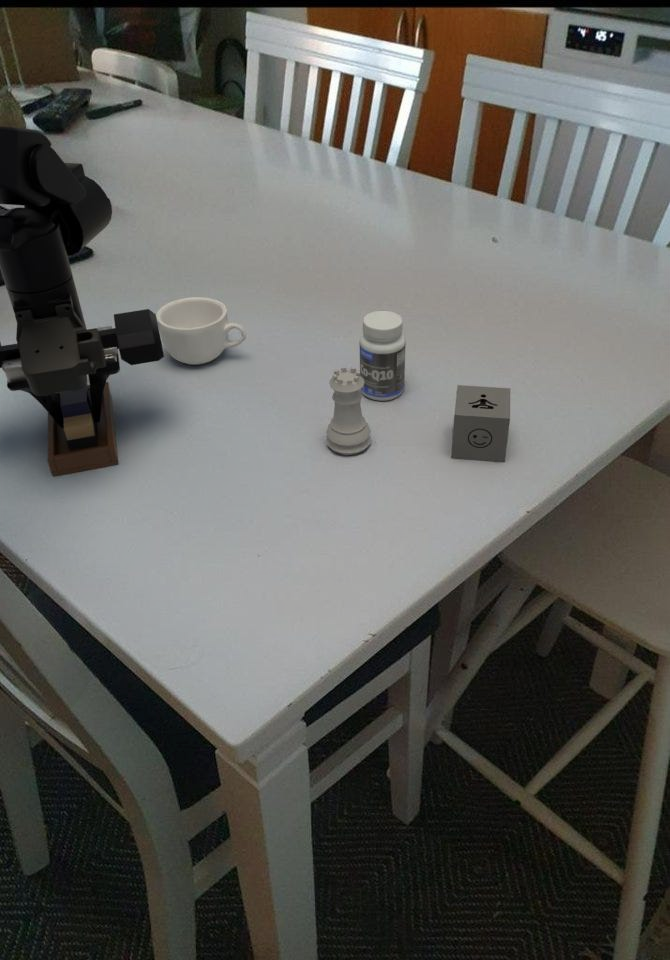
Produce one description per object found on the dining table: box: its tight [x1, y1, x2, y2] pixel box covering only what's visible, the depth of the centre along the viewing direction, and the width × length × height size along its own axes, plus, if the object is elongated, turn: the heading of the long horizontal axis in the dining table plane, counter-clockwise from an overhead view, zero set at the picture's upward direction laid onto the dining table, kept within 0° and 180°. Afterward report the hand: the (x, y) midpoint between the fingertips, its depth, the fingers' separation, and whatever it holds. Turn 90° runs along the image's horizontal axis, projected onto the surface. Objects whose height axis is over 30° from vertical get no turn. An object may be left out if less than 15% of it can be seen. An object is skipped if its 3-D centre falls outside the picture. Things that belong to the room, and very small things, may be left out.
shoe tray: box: [46, 381, 120, 477], centre depth 81 cm, size 6×12×2 cm, turn 15°
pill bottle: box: [358, 310, 407, 402], centre depth 84 cm, size 5×5×8 cm
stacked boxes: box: [60, 383, 98, 450], centre depth 80 cm, size 6×3×4 cm, turn 15°
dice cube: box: [450, 384, 511, 463], centre depth 77 cm, size 5×5×5 cm
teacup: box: [156, 296, 247, 366], centre depth 91 cm, size 10×8×5 cm
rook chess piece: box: [325, 366, 372, 456], centre depth 77 cm, size 4×4×8 cm
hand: (80, 423), depth 81 cm, fingers open, 3 cm apart
